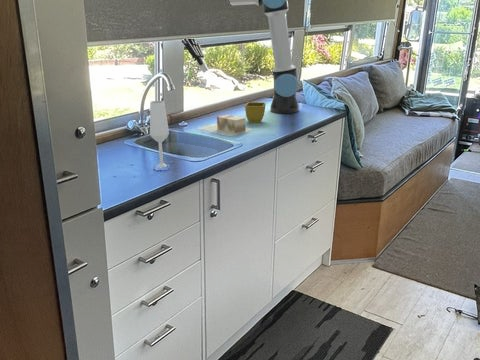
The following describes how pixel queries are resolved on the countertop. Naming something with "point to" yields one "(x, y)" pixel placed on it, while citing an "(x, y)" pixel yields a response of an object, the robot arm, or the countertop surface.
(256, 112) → the flower pot
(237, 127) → the maple block
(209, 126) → the mat
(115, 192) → the countertop surface
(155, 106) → the champagne flute
